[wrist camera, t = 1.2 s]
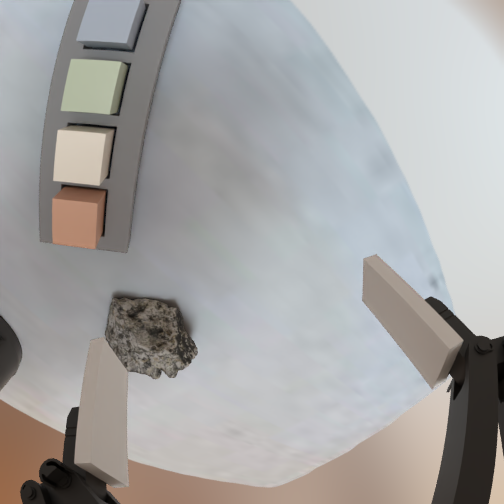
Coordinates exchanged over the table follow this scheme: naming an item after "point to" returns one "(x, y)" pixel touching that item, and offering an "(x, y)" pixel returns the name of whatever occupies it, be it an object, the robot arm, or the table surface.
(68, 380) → the table surface
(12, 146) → the table surface
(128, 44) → the key slate
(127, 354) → the rock
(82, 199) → the key terracotta
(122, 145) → the grey socket tray
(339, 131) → the table surface
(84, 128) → the key cream
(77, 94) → the key sage
